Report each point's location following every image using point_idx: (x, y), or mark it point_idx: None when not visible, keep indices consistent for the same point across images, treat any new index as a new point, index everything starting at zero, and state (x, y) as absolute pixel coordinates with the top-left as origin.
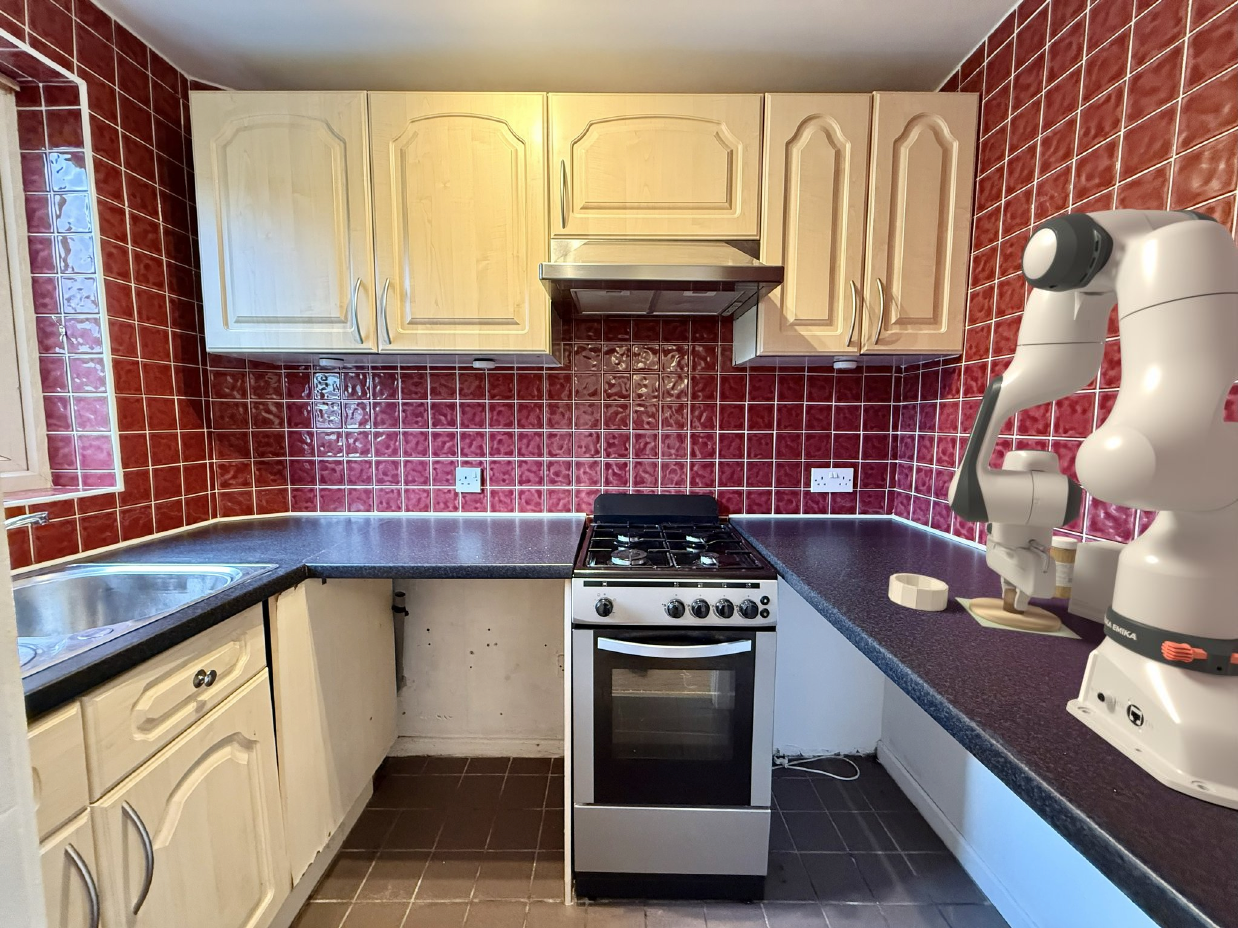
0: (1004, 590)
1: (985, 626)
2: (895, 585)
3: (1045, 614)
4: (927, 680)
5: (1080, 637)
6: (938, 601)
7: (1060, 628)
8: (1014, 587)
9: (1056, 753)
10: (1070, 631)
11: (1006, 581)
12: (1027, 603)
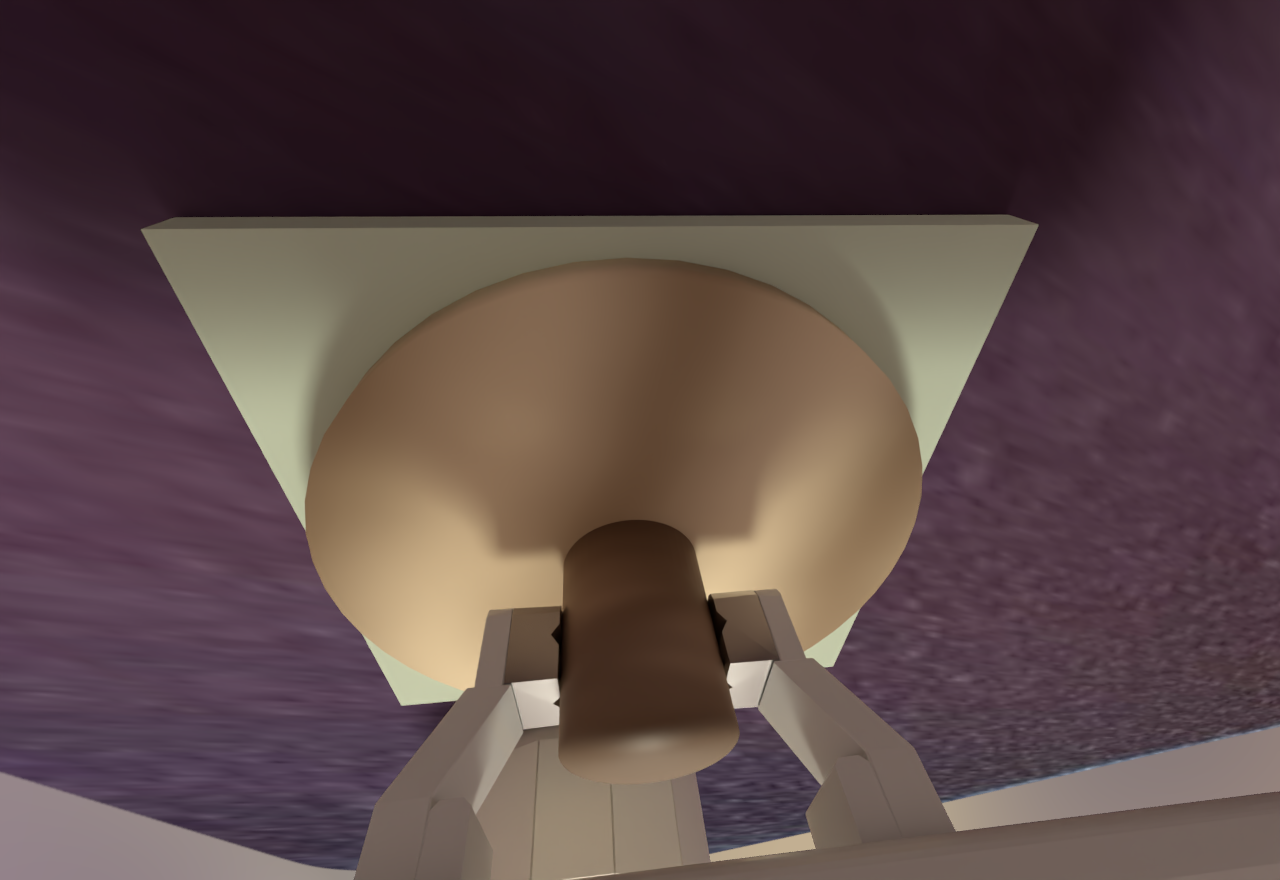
0: (519, 732)
1: (835, 657)
2: None
3: (609, 368)
4: (1148, 750)
5: (1011, 223)
6: (687, 803)
7: (815, 304)
8: (475, 731)
9: None
10: (878, 245)
11: (488, 842)
12: (796, 640)
